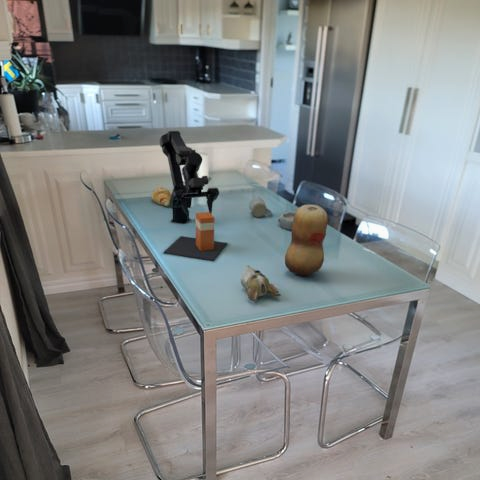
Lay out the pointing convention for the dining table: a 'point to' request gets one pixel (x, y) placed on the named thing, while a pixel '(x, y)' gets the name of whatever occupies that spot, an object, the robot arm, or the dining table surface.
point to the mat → (194, 249)
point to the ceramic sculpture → (257, 284)
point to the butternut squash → (307, 240)
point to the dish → (286, 220)
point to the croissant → (161, 196)
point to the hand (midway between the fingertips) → (199, 214)
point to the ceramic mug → (259, 207)
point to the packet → (204, 231)
